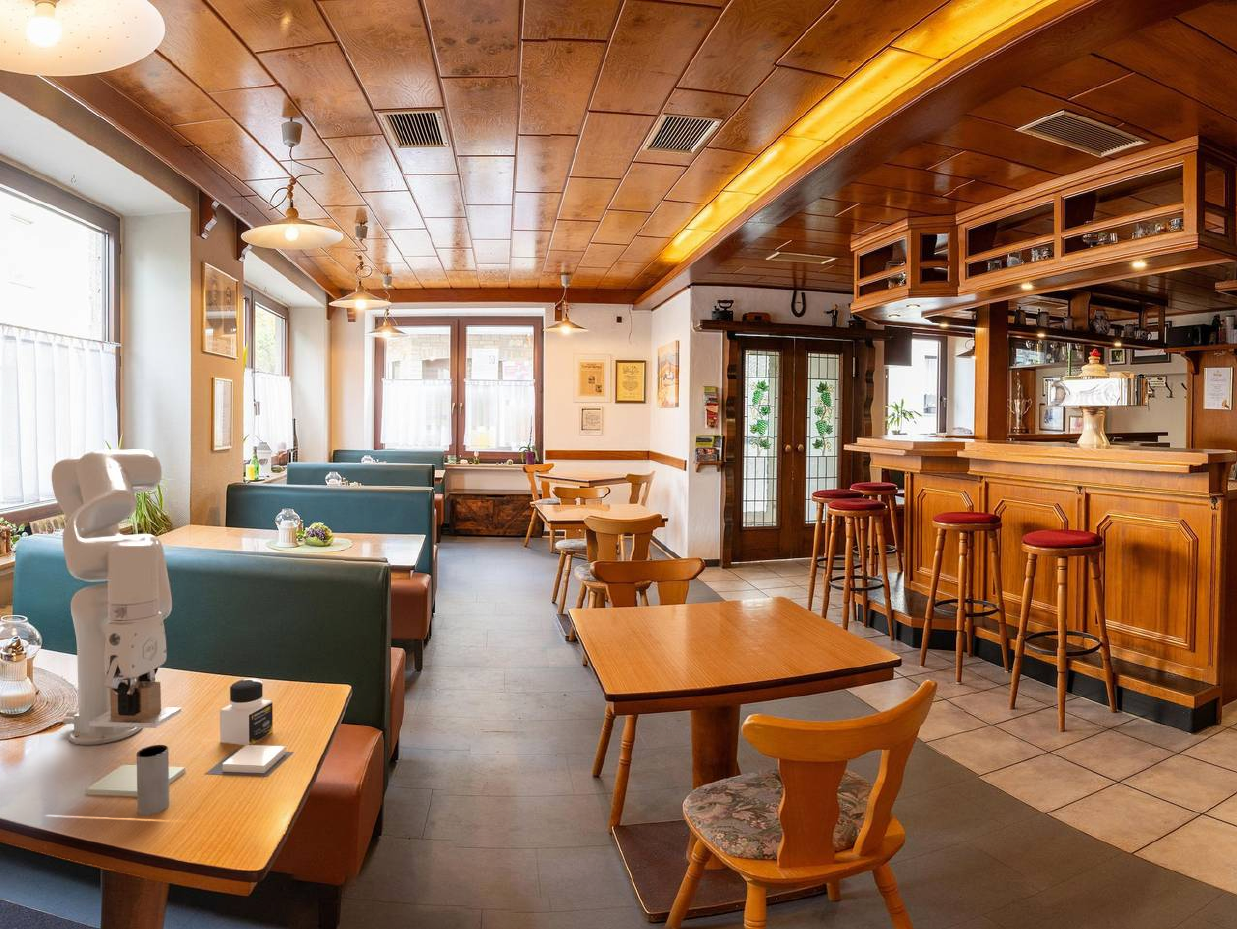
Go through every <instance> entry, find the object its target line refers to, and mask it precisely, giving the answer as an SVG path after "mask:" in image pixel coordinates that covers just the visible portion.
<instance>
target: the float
mask: <svg viewBox="0 0 1237 929" xmlns="http://www.w3.org/2000/svg"><path fill="white" fill-rule="evenodd" d="M123 682H124V683H126V684H127V685H128V681H123ZM161 690H162V689H161V681H155V682H143V681H136V680H135V691H134V693H137V704H138V713H137V714H136V715H135V716H124V715H119V714H118V694H115V691H114V690H113V689H112V688H110V706H111V710H110V711H108V712H106V713H104V714H102V715H101V716H99V717H97V718H95V719H93V720H91V721H89V726H105V727H142V728H147V729H151V728H152V729H154V728H155V729H156V728H158V727H159V726H161V725H163V724H164V723H166V722H167V721H169V720H170V719H172V718H174V717H176V716H177V715H179V714H180V713H182V707H166V706H165V707H163V706H162V697H161V696H162V694H161V693H162V692H161ZM142 728H141V729H142Z"/></svg>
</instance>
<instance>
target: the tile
mask: <svg viewBox="0 0 1237 929" xmlns="http://www.w3.org/2000/svg"><path fill="white" fill-rule="evenodd" d="M238 750H239V751H238V752H237V753H235V754H234V755H233V756H232V757H230V758H229V759H228V760H227V761H225V762H224V763H223V772H245V773H265V772H266V771H267V770H268V769H270V768H271V767H272V766H273V765H274V764H275V763H276V762H277V761H278V760H279V759H280V758H282V757H283V756H284V755H285V754H286V752H287V751H286V745H285V746H283V745H263V744H262V745H260V744H252V745H243V747H242V748H241V749H238Z"/></svg>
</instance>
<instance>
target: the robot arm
mask: <svg viewBox="0 0 1237 929" xmlns="http://www.w3.org/2000/svg"><path fill="white" fill-rule="evenodd" d="M162 471H163V470H162V466H161V463H160V460H159V458H158V456H156V454H155V453H153V452H152V451H150V450H148V449H147V450H146V449H101V450H94V451H90V452H87V453H85V454H84V455H82V456H75V457H68V458H64V459H62V460H59V461H58V462H56V463H55V464H54V466H53V467H52V470H51V484H52V490H53V494H54V497H55V499H56V501H57V503H58V505H59V507H60V509H61V510H62V512H63V514H64V516H65V518H66V519H67V521H66V524H65V526H64V527H63V528H64V529H63V531H62V548H63V553H64V559H65V563H66V567H67V571H68V572H69V574H70V575H71V576H72V577H74V579H77V580H82V581H85V582H92V583H93V582H106V581H107V582H106V583H99V584H93V585H90V586H86V587H83V588H81V589H79V590H78V591H76V592H75V593H74V594H73V596H72V598H71V602H70V611H71V612H70V614H71V618H72V621H73V622H72V623H73V628H74V633H75V638H76V654H77V658H76V659H77V688H78V690H77V692H78V693H77V694H78V695H77V696H78V698H77V700H78V710H74V709H73V710H68V711H67V712H66V715H65V716H64V718H63V720H62V724H65V725H66V724H67V725H72V724H73V729H72V730H71V731H70V733H69V741H70V742H72V743H73V744H76V745H83V746H92V745H101V744H102V745H103V744H108V743H112V742H117V741H119V740H122V739H125V738H129V737H131V736H133V735H135V734H136V733H138V732H139V731H141V730H142V727H105V726H89V721H91V720H93V719H95V718H97V717H99V716H101V715H102V714H104V713H106V712H108V711H110V710H111V706H110V688H112V689H113V690H114V691H115V694H118V714H119V715H124V716H135V715H136V714H137V713H138V704H137V693H134V691H135V681H143V682H156V674H157V673H158V670H159V668H160V667H161V666H162V665H163V664H165V663H166V661H167V654H168V653H167V638H166V631H165V625H164V620H165V619H167V618H168V617H169V616H170V614H171V612H172V608H173V598H172V592H171V591H172V590H171V584H170V580H169V573H168V567H167V562H166V555H165V551H164V546H163V544H162V542H161V540H160V539H159V538H158V537H157V536H155V535H153V534H150V533H137V534H134V533H133V534H122V533H121V531H120V525H119V523H121V522H123V521H125V520H127V519H128V518H130V517H131V516H132V515H133V514H134V512H135V511H136V508H137V506H138V501H137V500H138V499H137V497H136V494H142V493H146V492H150V491H153V490H155V489H156V488H157V487H158V486H159V485H160V483H161V480H162V475H163V474H162V473H163V472H162ZM123 681H128V685H127V684H126V683H124V682H123Z"/></svg>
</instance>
